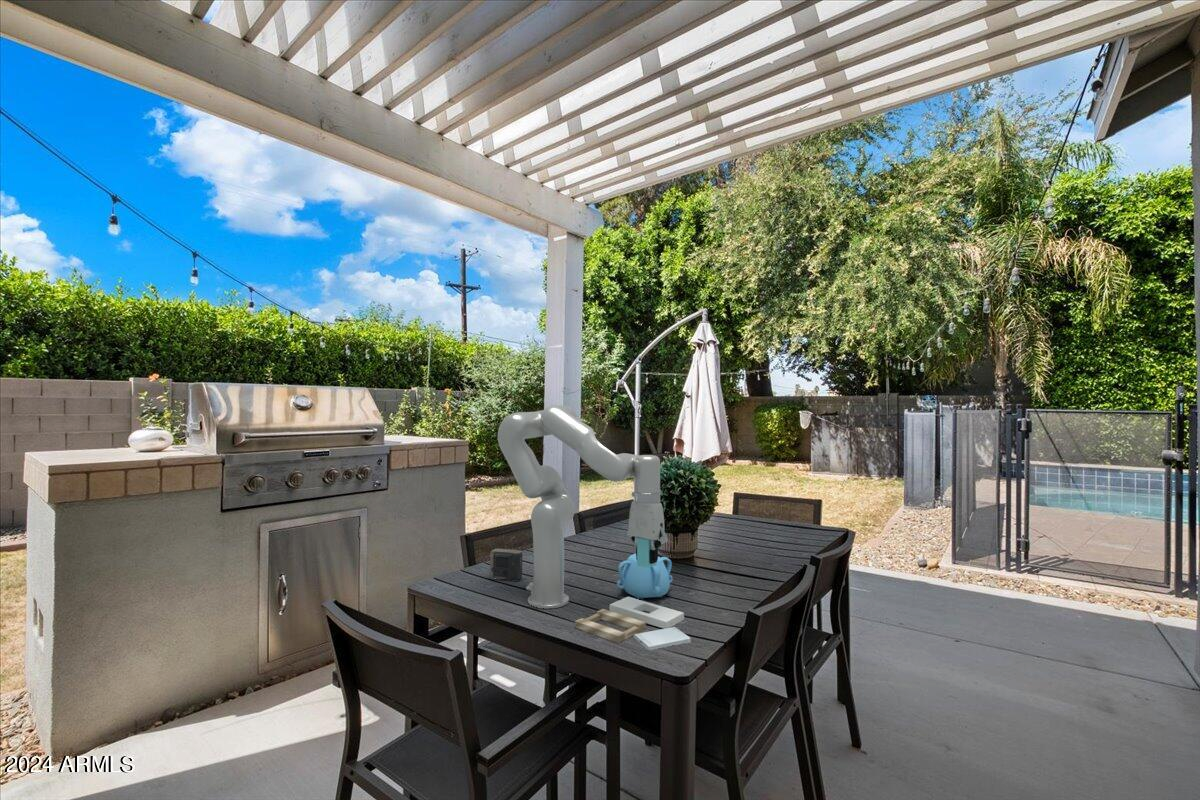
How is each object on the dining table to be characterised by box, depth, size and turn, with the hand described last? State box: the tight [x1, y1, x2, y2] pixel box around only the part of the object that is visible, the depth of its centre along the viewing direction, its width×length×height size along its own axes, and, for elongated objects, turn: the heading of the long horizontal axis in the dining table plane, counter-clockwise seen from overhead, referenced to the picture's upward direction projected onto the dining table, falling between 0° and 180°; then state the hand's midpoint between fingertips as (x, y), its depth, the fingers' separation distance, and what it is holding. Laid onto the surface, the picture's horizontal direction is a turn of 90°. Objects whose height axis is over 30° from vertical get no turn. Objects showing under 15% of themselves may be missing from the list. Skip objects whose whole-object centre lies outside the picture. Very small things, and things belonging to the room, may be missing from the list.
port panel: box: [608, 596, 685, 629], centre depth 160 cm, size 20×9×2 cm, turn 50°
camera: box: [488, 548, 523, 582], centre depth 192 cm, size 11×6×10 cm, turn 74°
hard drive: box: [633, 626, 692, 651], centre depth 143 cm, size 2×8×12 cm
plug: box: [637, 538, 656, 568], centre depth 160 cm, size 4×4×8 cm
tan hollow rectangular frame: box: [574, 608, 647, 644], centre depth 150 cm, size 15×12×2 cm
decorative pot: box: [616, 552, 674, 600], centre depth 178 cm, size 16×16×14 cm
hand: (646, 560), depth 160 cm, fingers closed on plug, 3 cm apart
